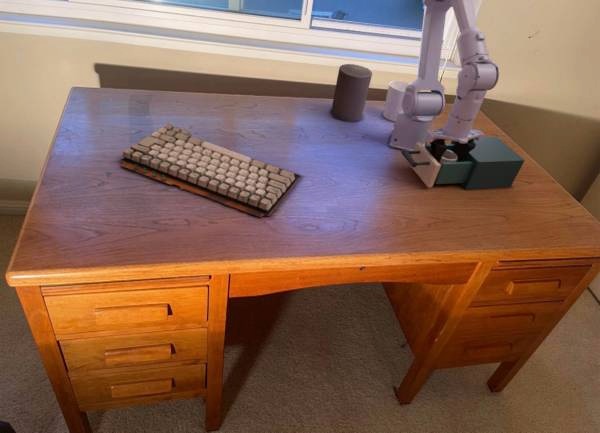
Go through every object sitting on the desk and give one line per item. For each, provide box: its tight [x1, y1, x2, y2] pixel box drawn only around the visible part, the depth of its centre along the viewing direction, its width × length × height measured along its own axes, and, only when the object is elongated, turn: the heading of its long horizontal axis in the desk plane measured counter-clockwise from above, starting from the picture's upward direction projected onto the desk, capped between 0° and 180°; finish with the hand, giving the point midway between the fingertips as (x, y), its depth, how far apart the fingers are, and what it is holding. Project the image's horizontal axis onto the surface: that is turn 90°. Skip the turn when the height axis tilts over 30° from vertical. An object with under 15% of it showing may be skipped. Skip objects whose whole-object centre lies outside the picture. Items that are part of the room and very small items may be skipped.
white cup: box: [382, 80, 410, 123], centre depth 132 cm, size 8×8×10 cm
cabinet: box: [450, 136, 526, 191], centre depth 111 cm, size 14×12×8 cm
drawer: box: [400, 143, 475, 188], centre depth 107 cm, size 17×10×6 cm, turn 105°
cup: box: [438, 150, 458, 173], centre depth 107 cm, size 5×5×4 cm
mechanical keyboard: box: [120, 122, 302, 218], centre depth 98 cm, size 38×19×3 cm, turn 68°
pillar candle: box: [330, 63, 373, 122], centre depth 127 cm, size 10×10×15 cm
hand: (442, 165), depth 108 cm, fingers closed on cup, 5 cm apart
